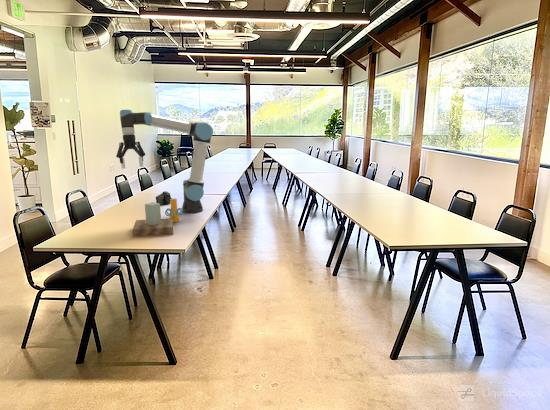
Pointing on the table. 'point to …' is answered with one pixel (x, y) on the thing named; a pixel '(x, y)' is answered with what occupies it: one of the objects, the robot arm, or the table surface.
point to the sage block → (153, 213)
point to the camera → (163, 198)
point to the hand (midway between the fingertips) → (132, 167)
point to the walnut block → (153, 228)
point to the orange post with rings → (174, 210)
